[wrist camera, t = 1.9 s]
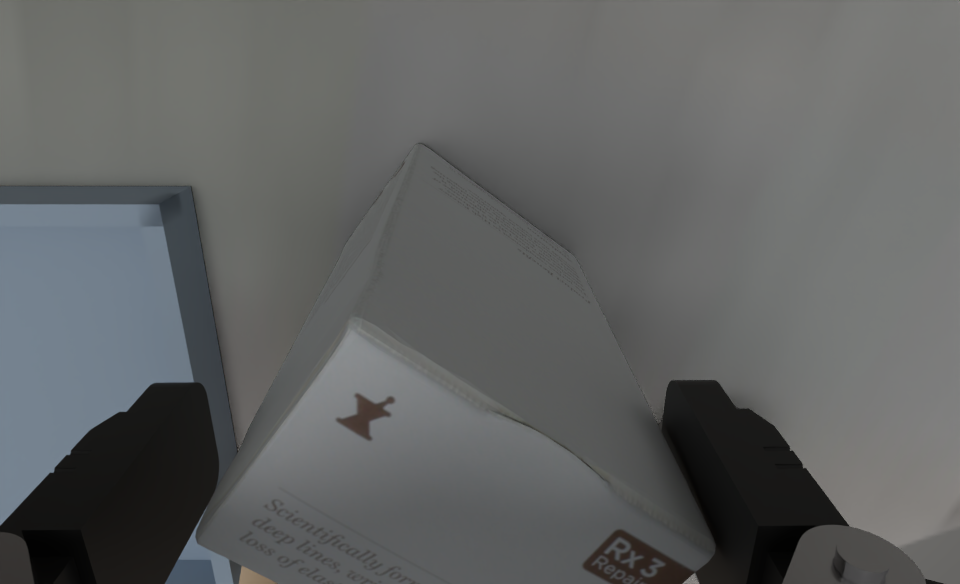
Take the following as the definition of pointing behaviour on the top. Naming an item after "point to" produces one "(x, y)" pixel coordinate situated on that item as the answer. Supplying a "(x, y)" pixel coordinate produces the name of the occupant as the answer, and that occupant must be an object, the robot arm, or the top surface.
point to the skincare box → (455, 418)
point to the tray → (101, 329)
